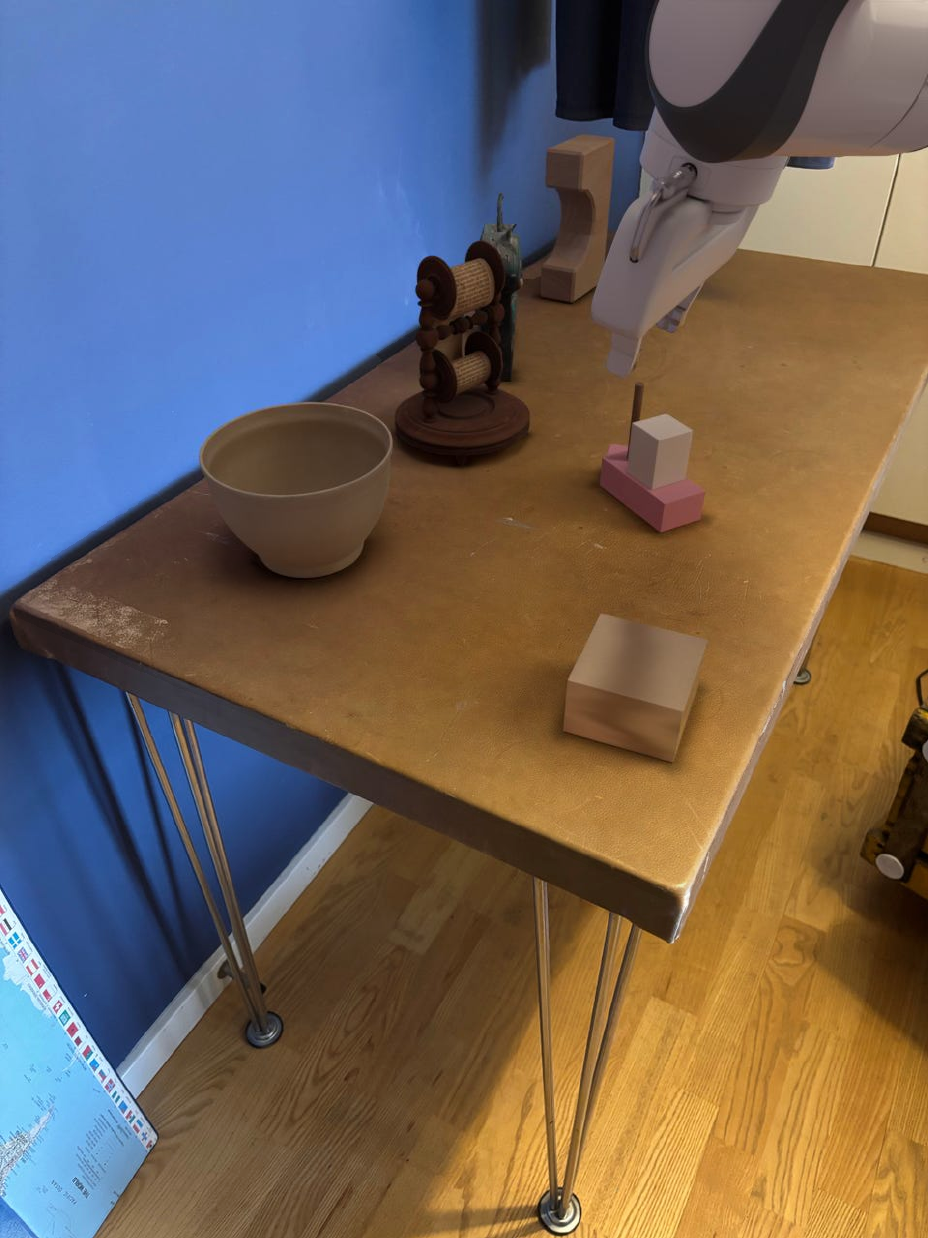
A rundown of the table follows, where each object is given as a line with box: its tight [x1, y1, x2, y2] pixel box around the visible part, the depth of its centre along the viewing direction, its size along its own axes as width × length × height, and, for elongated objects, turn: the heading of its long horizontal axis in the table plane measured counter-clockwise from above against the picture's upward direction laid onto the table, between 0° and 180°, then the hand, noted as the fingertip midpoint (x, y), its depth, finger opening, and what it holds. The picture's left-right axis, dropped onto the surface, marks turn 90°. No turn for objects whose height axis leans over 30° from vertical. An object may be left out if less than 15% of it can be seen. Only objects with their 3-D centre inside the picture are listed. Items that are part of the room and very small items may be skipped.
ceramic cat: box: [472, 192, 524, 382], centre depth 112 cm, size 20×6×20 cm, turn 179°
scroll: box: [394, 239, 531, 466], centre depth 95 cm, size 15×15×20 cm
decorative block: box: [539, 133, 616, 304], centre depth 131 cm, size 11×6×20 cm, turn 148°
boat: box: [599, 381, 706, 533], centre depth 87 cm, size 12×5×11 cm, turn 28°
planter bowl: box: [198, 401, 394, 579], centre depth 80 cm, size 16×16×11 cm
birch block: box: [562, 613, 708, 763], centre depth 66 cm, size 8×8×5 cm
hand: (644, 348), depth 67 cm, fingers open, 8 cm apart
